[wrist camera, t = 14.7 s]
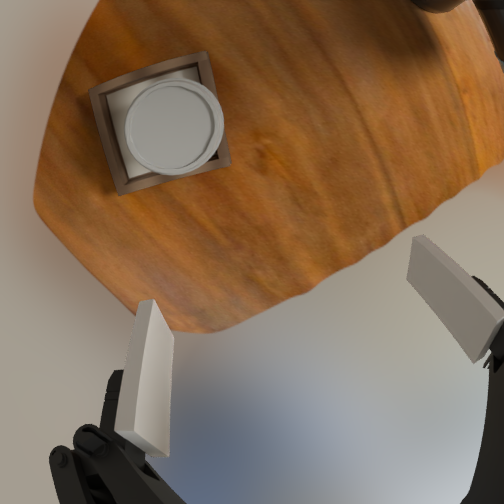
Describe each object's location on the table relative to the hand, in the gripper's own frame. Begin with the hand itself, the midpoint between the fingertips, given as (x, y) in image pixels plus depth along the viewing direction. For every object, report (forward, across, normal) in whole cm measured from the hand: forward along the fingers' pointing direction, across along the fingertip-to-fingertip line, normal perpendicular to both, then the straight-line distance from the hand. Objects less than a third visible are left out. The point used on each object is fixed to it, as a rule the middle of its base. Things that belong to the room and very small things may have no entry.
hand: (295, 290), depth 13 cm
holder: (+29, -9, +8) cm, 31 cm away
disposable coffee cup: (+28, -6, +7) cm, 29 cm away
